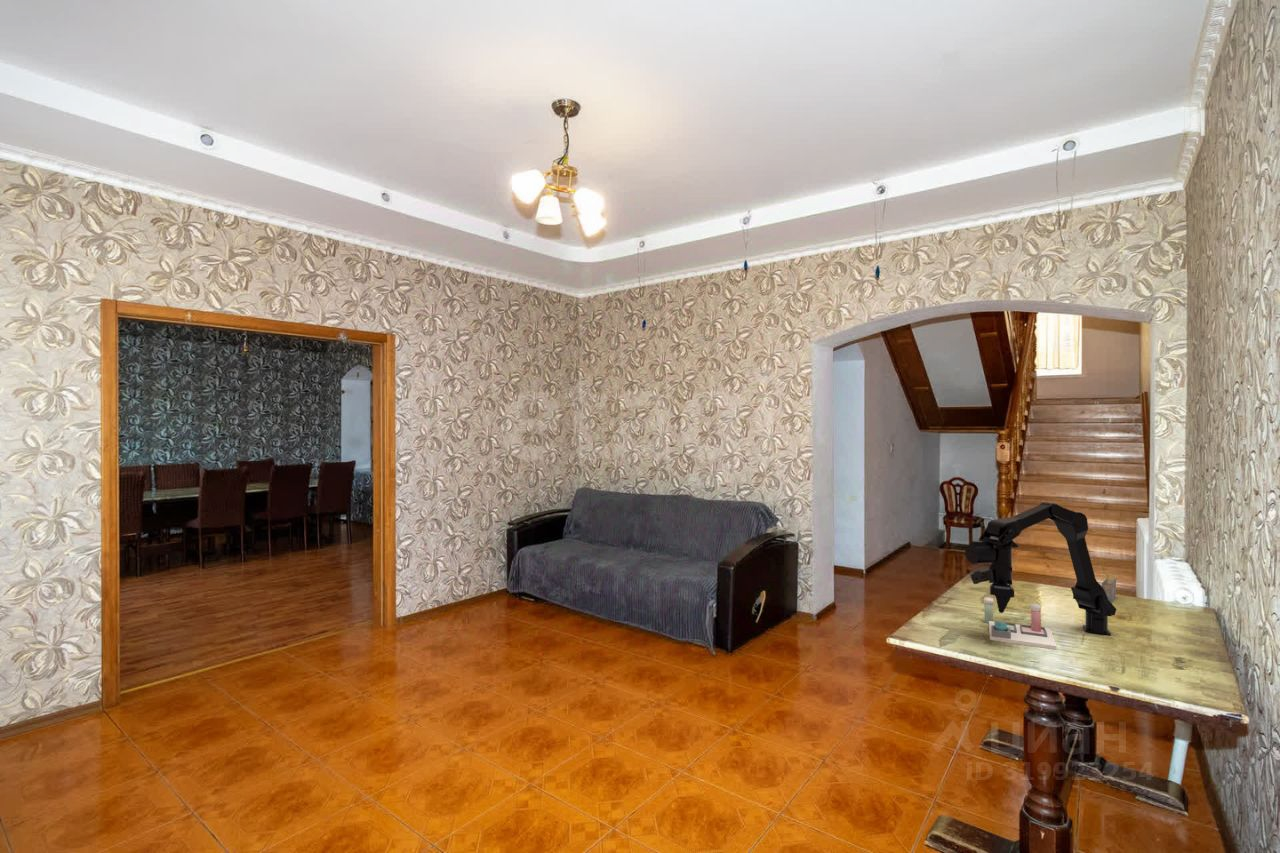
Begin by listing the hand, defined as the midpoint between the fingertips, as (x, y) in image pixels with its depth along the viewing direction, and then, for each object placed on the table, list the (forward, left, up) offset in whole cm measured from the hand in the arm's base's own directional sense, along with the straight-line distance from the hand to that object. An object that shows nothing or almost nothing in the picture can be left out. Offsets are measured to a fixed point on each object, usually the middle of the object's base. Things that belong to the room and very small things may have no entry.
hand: (1001, 612), depth 190 cm
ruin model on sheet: (-67, +37, -9) cm, 77 cm away
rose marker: (-10, +10, -7) cm, 16 cm away
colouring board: (-5, +5, -8) cm, 11 cm away
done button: (0, 0, -6) cm, 6 cm away
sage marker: (-16, -3, -8) cm, 18 cm away
